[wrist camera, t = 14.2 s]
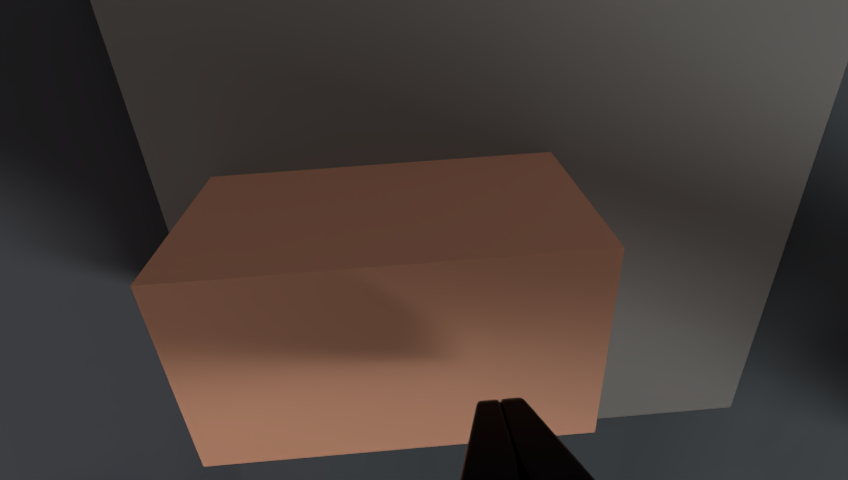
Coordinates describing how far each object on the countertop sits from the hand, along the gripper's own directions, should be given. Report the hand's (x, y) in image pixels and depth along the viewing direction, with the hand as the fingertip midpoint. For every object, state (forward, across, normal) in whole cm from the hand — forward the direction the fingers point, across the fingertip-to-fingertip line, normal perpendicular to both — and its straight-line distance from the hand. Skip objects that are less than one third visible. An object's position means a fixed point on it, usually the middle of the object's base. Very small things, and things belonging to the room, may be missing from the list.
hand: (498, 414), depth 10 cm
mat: (+7, -1, 0) cm, 7 cm away
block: (+4, -3, 0) cm, 5 cm away
